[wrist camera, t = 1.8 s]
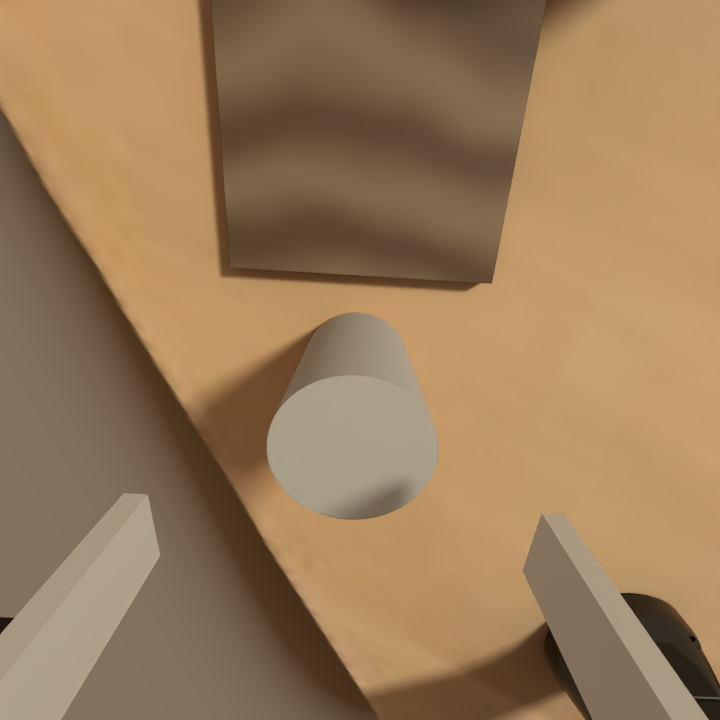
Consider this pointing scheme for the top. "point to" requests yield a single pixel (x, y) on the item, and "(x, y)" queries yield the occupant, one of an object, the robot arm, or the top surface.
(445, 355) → the top surface
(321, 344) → the beige cylinder
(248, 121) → the walnut board
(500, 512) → the top surface
